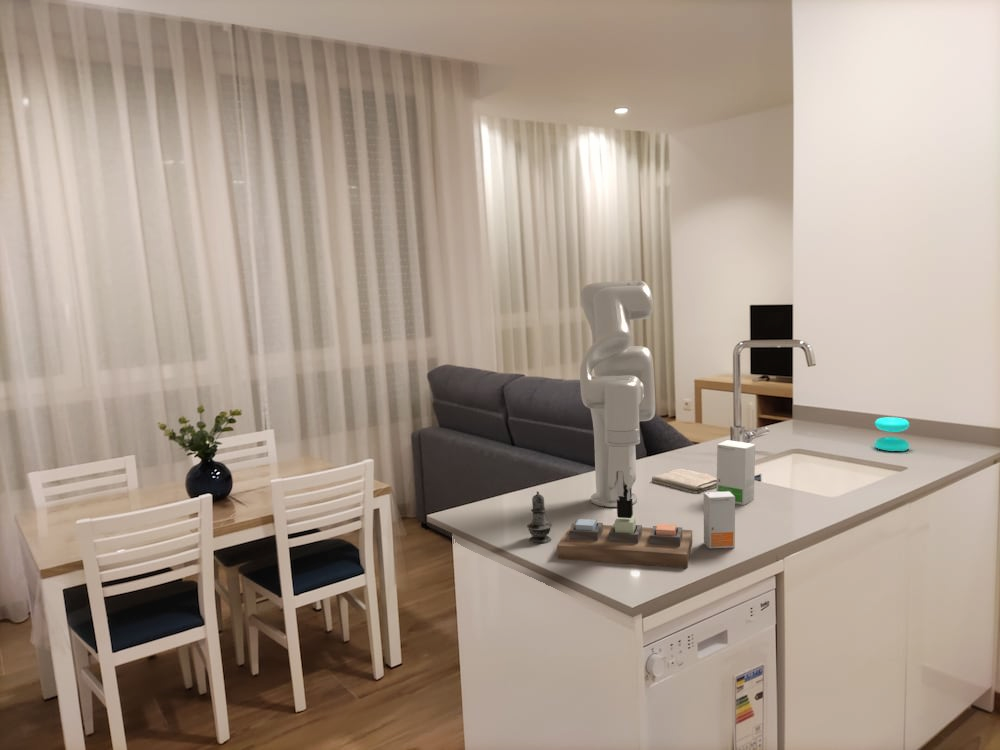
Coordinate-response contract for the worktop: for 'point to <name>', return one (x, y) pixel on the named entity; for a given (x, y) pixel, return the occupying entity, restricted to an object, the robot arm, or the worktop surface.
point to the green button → (625, 525)
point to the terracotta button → (666, 529)
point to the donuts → (892, 426)
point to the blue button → (586, 525)
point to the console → (626, 546)
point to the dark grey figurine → (539, 522)
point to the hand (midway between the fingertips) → (625, 516)
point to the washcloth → (687, 480)
